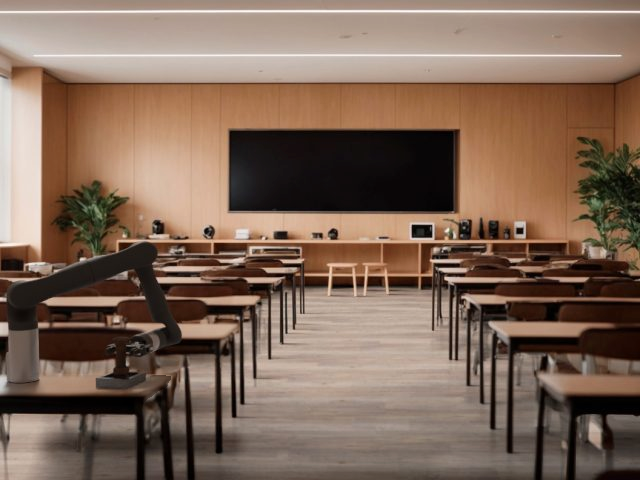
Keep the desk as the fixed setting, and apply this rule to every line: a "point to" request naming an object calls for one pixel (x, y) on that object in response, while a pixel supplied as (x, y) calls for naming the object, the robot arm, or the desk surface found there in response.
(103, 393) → the desk surface
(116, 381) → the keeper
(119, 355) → the bolt
